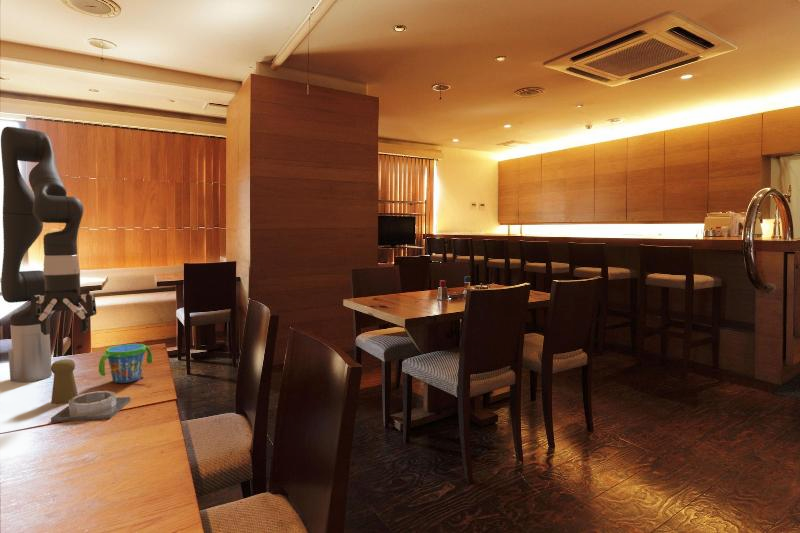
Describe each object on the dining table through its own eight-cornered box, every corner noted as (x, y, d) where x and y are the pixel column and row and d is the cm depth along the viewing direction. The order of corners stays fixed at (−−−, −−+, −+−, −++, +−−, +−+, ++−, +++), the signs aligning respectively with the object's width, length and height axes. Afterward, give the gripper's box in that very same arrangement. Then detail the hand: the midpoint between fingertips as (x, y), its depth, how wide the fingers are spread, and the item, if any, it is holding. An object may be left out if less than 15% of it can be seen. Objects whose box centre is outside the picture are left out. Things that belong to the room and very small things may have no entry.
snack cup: (143, 370, 150) (142, 340, 149) (161, 376, 144) (160, 344, 143) (91, 383, 137) (89, 350, 136) (108, 390, 131) (107, 355, 130)
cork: (64, 405, 120) (61, 364, 119) (45, 403, 121) (42, 362, 121) (84, 397, 126) (82, 358, 125) (66, 395, 127) (63, 356, 126)
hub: (51, 422, 110) (50, 408, 109) (77, 403, 122) (76, 390, 121) (110, 418, 112) (109, 405, 112) (130, 400, 124) (130, 388, 123)
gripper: (98, 270, 125) (101, 329, 126) (38, 272, 122) (42, 332, 123) (86, 272, 118) (89, 334, 119) (22, 274, 115) (26, 338, 116)
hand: (65, 333), depth 121 cm, fingers open, 8 cm apart
